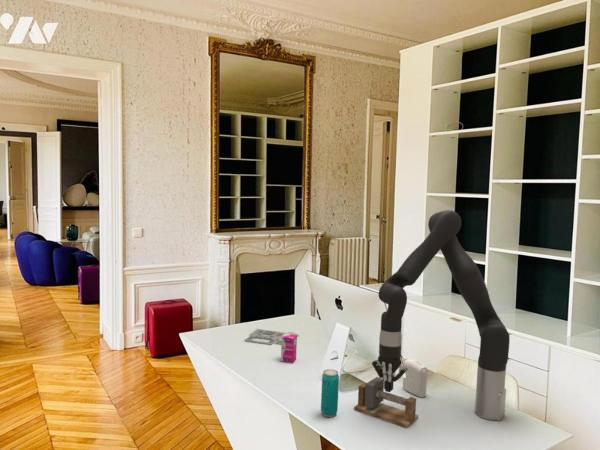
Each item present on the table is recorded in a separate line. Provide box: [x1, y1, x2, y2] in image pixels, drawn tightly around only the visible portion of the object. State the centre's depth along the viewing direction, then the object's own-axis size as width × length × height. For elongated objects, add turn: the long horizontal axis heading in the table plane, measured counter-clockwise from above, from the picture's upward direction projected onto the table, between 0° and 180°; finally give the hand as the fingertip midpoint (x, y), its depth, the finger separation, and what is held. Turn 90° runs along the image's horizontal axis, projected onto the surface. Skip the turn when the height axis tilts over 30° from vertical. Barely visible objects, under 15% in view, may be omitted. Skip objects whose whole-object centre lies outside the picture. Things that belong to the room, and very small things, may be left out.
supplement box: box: [280, 334, 298, 364], centre depth 220 cm, size 6×6×12 cm
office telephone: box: [244, 328, 300, 346], centre depth 251 cm, size 23×3×20 cm
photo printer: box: [402, 358, 428, 398], centre depth 191 cm, size 10×4×12 cm, turn 29°
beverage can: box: [320, 368, 340, 418], centre depth 170 cm, size 6×6×15 cm
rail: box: [353, 382, 419, 429], centre depth 172 cm, size 20×9×8 cm, turn 53°
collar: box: [365, 376, 385, 408], centre depth 174 cm, size 3×8×8 cm, turn 143°
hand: (388, 391), depth 171 cm, fingers closed
